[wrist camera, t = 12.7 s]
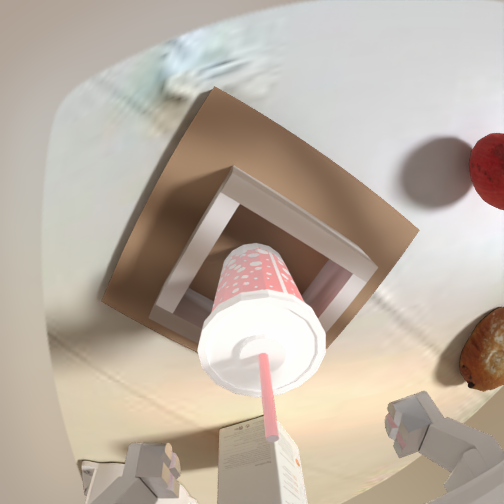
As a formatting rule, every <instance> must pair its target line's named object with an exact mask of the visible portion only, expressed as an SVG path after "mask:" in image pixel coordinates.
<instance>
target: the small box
mask: <svg viewBox="0 0 504 504" xmlns="http://www.w3.org/2000/svg"><path fill="white" fill-rule="evenodd" d="M277 426H278V434H279V440H278V441H276V442H268V441H266V435H265V425H264V416H261V417H258V418H255V419H252V420H249V421H246V422H242V423H239V424H235V425H232V426H229V427H225V428H222V429H220V430H219V458H218V498H217V504H307V498H306V492H305V486H304V480H303V474H302V468H301V462H300V455H299V449H298V446H297V445H296V443H295V442H294V441H293V440H292V438H291V437H290V436H289V435H288V433H287V432H286V431H285V429H284V428H283V427H282V425H281V424H280V423H279V422H278V420H277Z"/></svg>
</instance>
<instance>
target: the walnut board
mask: <svg viewBox="0 0 504 504" xmlns="http://www.w3.org/2000/svg"><path fill="white" fill-rule="evenodd" d="M418 232H419V229H418V228H417V227H415V226H414V225H413V224H412V223H411V222H410V221H408V220H407V219H406V218H405V217H404V216H403V215H401V214H400V213H399V212H398V211H397V210H395V209H394V208H393V207H392V206H391V205H389V204H388V203H387V202H386V201H384V200H383V199H382V198H381V197H379V196H378V195H377V194H376V193H374V192H373V191H372V190H371V189H369V188H368V187H367V186H365V185H364V184H363V183H361V182H360V181H359V180H358V179H356V178H355V177H354V176H352V175H351V174H350V173H348V172H347V171H346V170H344V169H343V168H341V167H340V166H339V165H337V164H336V163H335V162H333V161H332V160H330V159H329V158H328V157H326V156H325V155H323V154H322V153H321V152H319V151H318V150H316V149H315V148H313V147H312V146H310V145H309V144H308V143H306V142H305V141H303V140H302V139H300V138H299V137H297V136H296V135H294V134H293V133H291V132H290V131H288V130H286V129H285V128H283V127H282V126H280V125H279V124H277V123H276V122H274V121H272V120H271V119H269V118H268V117H266V116H264V115H263V114H261V113H260V112H258V111H256V110H255V109H253V108H251V107H250V106H248V105H246V104H245V103H243V102H241V101H240V100H238V99H236V98H234V97H233V96H231V95H229V94H227V93H226V92H224V91H222V90H220V89H218V88H217V87H215V86H214V88H213V89H212V91H211V92H210V94H209V95H208V97H207V98H206V100H205V102H204V103H203V105H202V106H201V108H200V109H199V111H198V113H197V114H196V116H195V117H194V119H193V121H192V122H191V124H190V126H189V127H188V129H187V131H186V132H185V134H184V136H183V137H182V139H181V141H180V142H179V144H178V146H177V147H176V149H175V151H174V153H173V154H172V156H171V158H170V160H169V161H168V163H167V165H166V167H165V169H164V170H163V172H162V174H161V176H160V178H159V180H158V182H157V183H156V185H155V187H154V189H153V191H152V193H151V195H150V197H149V199H148V201H147V202H146V204H145V206H144V208H143V210H142V212H141V214H140V216H139V218H138V220H137V222H136V224H135V227H134V229H133V231H132V233H131V235H130V237H129V239H128V241H127V243H126V245H125V248H124V250H123V252H122V254H121V256H120V259H119V261H118V263H117V265H116V268H115V270H114V272H113V274H112V277H111V279H110V281H109V284H108V286H107V289H106V291H105V293H104V296H103V298H102V302H103V303H105V304H107V305H108V306H110V307H112V308H114V309H115V310H117V311H119V312H121V313H122V314H124V315H126V316H128V317H130V318H131V319H133V320H135V321H137V322H139V323H141V324H143V325H144V326H146V327H148V328H150V329H152V330H154V331H156V332H158V333H160V334H162V335H164V336H166V337H168V338H170V339H172V340H173V341H176V342H178V343H180V344H182V345H184V346H186V347H188V348H190V349H192V350H194V351H196V352H198V351H197V350H198V345H199V341H200V336H201V332H202V328H203V324H204V321H205V320H206V319H207V318H208V316H209V315H210V314H211V312H212V308H213V304H214V300H215V296H216V292H217V288H218V284H219V280H220V276H221V272H222V268H223V264H224V261H225V259H226V258H227V257H228V255H229V254H230V253H231V252H232V251H233V250H235V249H237V248H238V247H240V246H242V245H245V244H253V243H258V244H263V245H267V246H270V247H271V248H272V249H274V250H275V251H276V252H278V253H279V254H280V256H281V258H282V260H283V261H284V263H285V265H286V267H287V269H288V271H289V273H290V275H291V277H292V279H293V281H294V283H295V284H296V286H297V288H298V290H299V292H300V294H301V296H302V298H303V300H304V302H305V303H306V304H307V305H309V306H310V307H311V308H312V309H313V311H314V313H315V315H316V316H317V318H318V320H319V322H320V323H321V326H322V328H323V329H324V331H325V334H326V349H327V348H328V347H329V346H330V345H331V343H332V342H333V341H334V340H335V339H336V338H337V337H338V335H339V334H340V333H341V332H342V331H343V330H344V328H345V327H346V326H347V325H348V324H349V322H350V321H351V320H352V319H353V318H354V316H355V315H356V314H357V313H358V312H359V310H360V309H361V308H362V307H363V305H364V304H365V303H366V302H367V301H368V299H369V298H370V297H371V295H372V294H373V293H374V292H375V290H376V289H377V288H378V287H379V285H380V284H381V283H382V281H383V280H384V279H385V277H386V276H387V275H388V273H389V272H390V271H391V269H392V268H393V267H394V265H395V264H396V263H397V261H398V260H399V259H400V257H401V256H402V255H403V253H404V252H405V250H406V249H407V248H408V246H409V245H410V243H411V242H412V240H413V239H414V238H415V236H416V235H417V233H418Z"/></svg>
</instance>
